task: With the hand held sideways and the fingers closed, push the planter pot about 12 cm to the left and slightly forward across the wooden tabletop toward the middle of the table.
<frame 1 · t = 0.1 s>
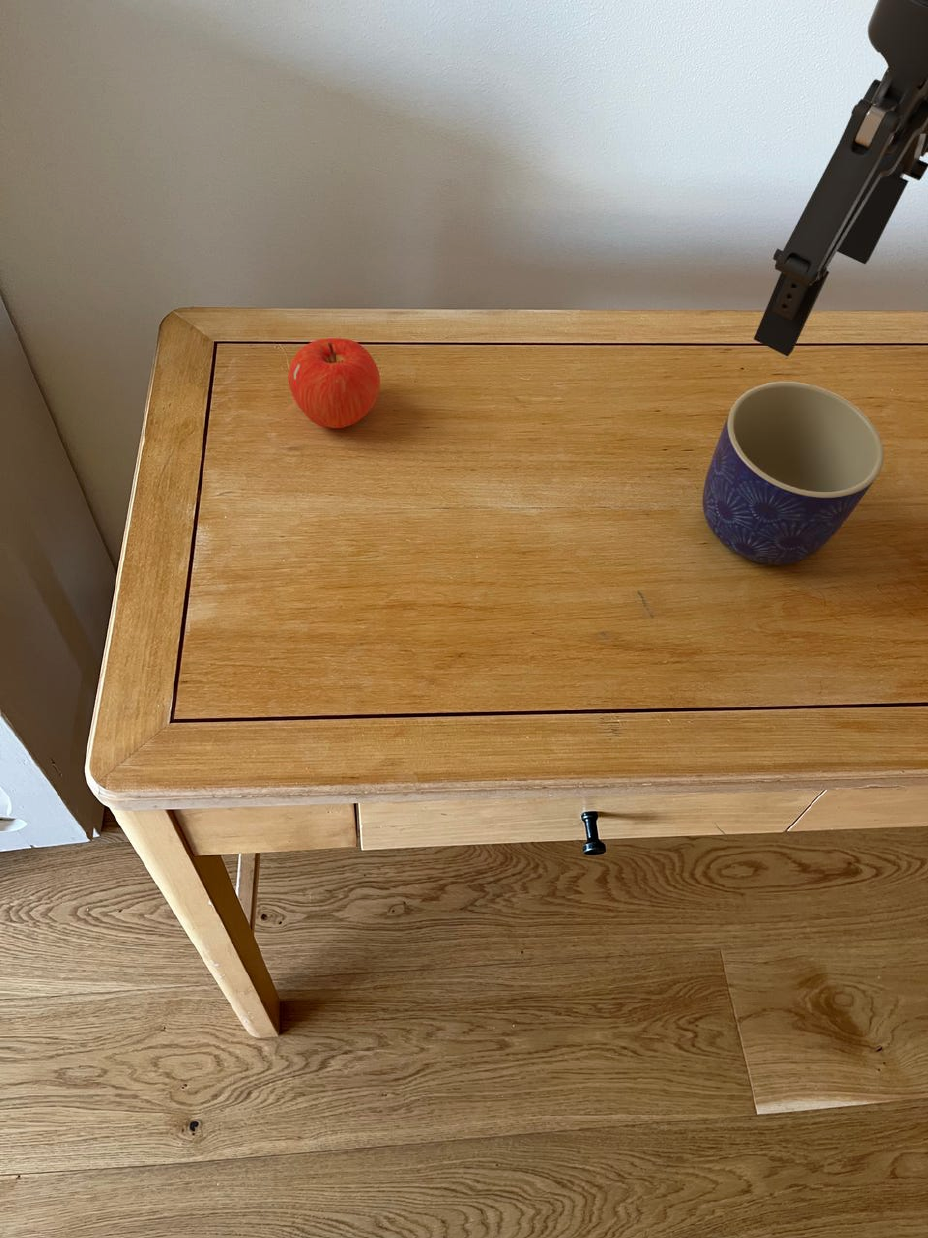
hand: (813, 298, 68), 20 cm above the table, tool pointing down, fingers open, 13 cm apart
planter: (758, 524, 82), on the table
apple: (336, 413, 86), on the table
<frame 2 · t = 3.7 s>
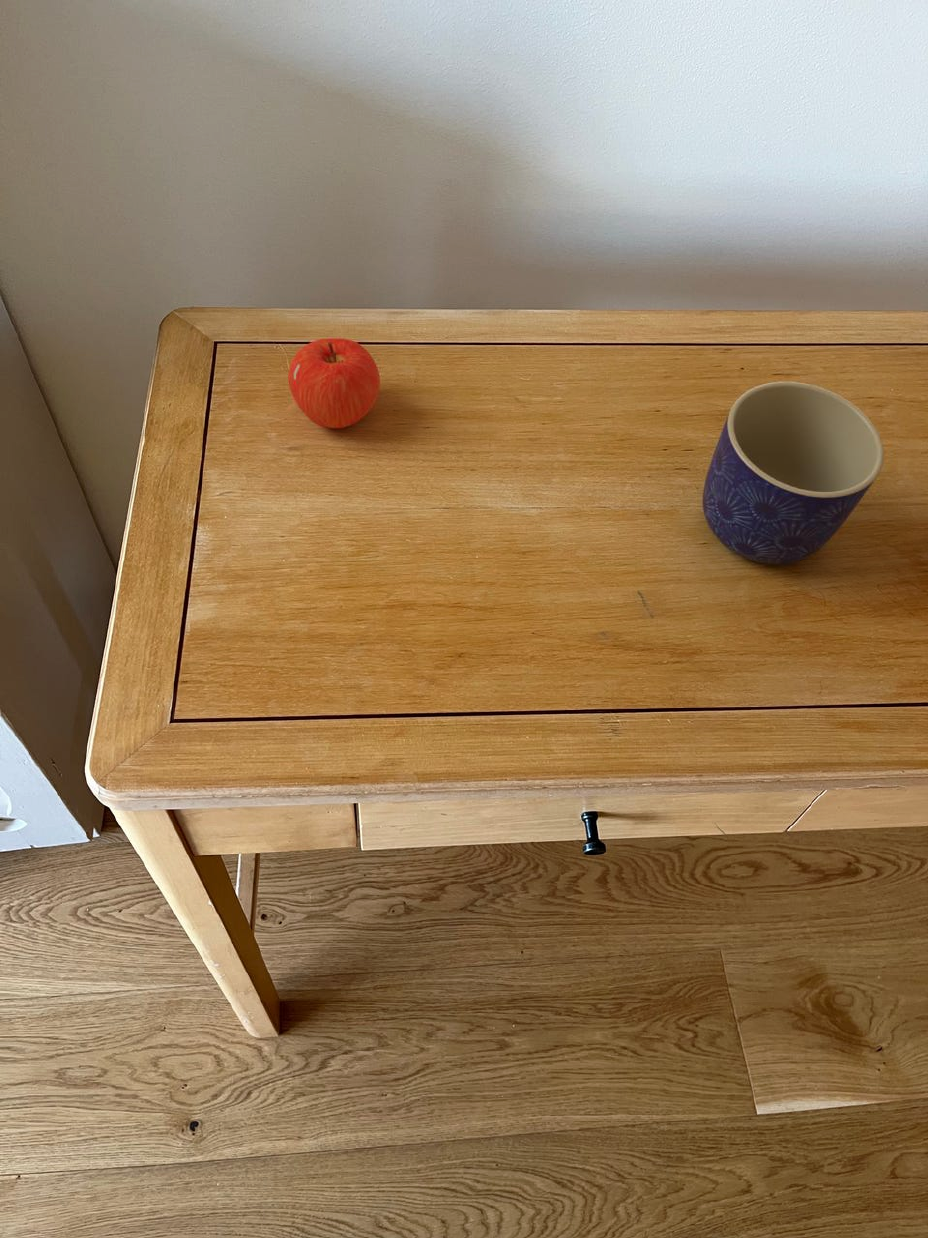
nothing on the table moved.
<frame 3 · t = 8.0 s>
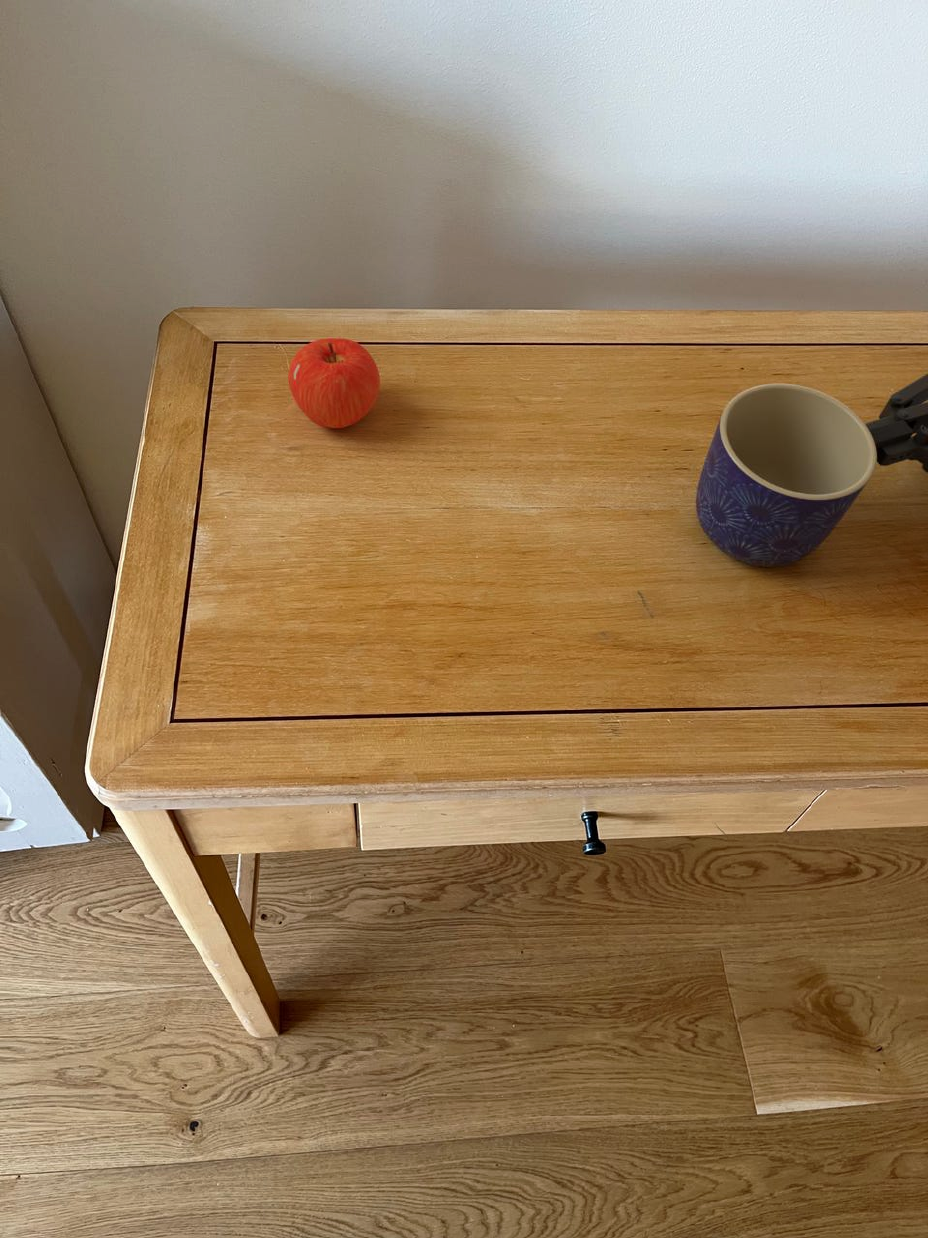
hand: (840, 455, 78), 6 cm above the table, tool horizontal, fingers closed
planter: (752, 526, 82), on the table, touching gripper
everything else where it was.
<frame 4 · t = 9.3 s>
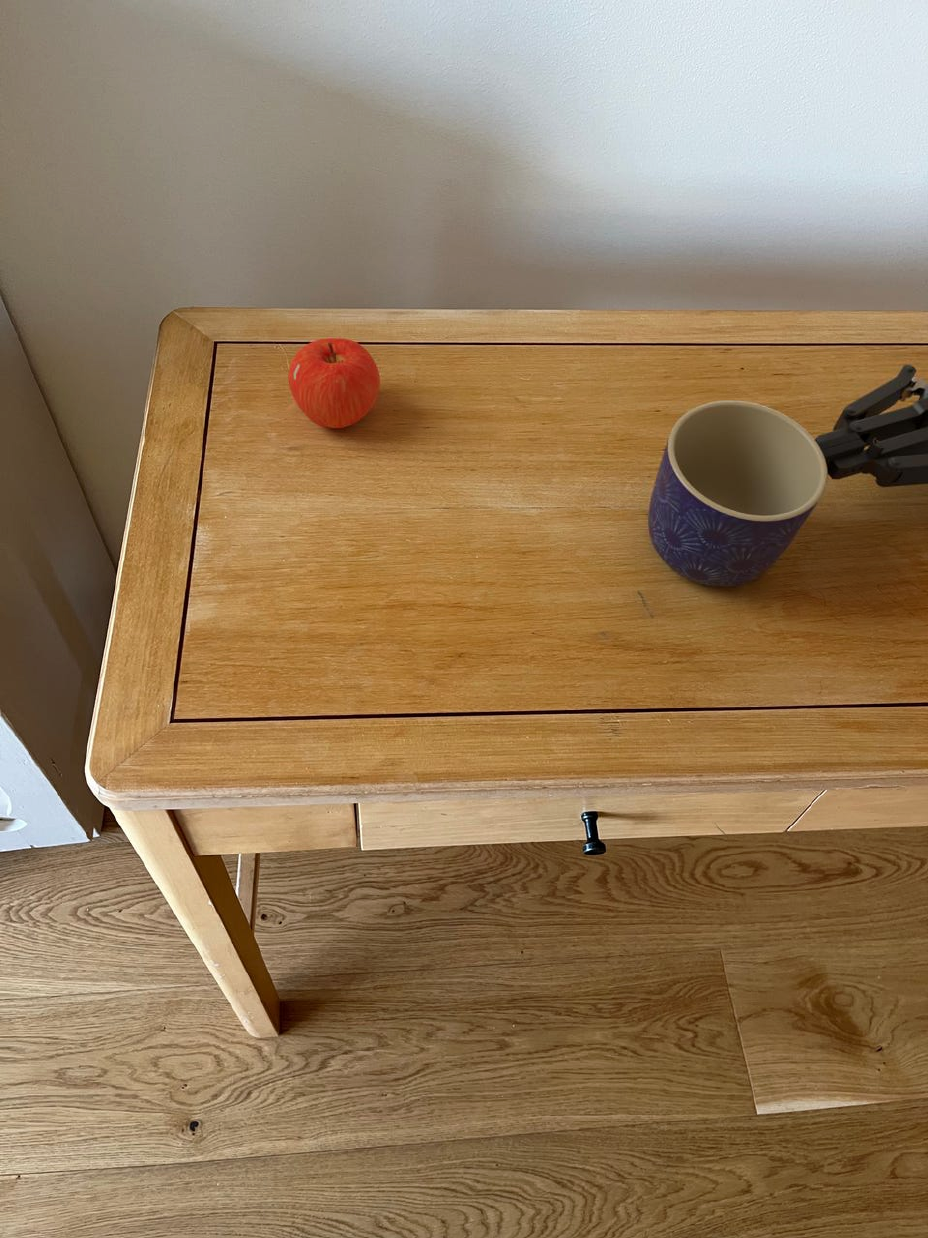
hand: (790, 468, 77), 7 cm above the table, tool horizontal, fingers closed
planter: (706, 544, 81), on the table, touching gripper
everything else where it was.
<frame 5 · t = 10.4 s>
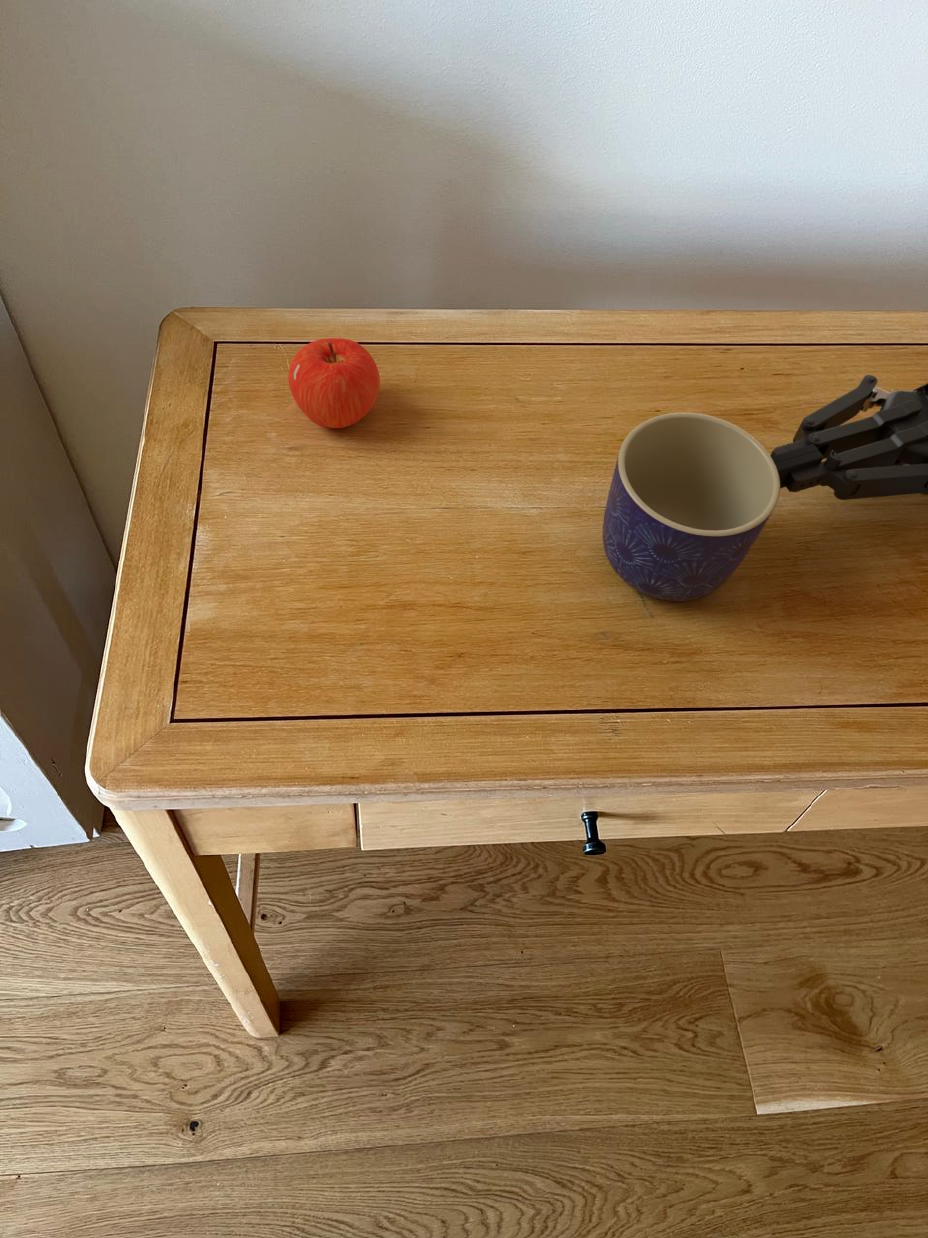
hand: (747, 481, 76), 7 cm above the table, tool horizontal, fingers closed
planter: (662, 557, 79), on the table, touching gripper
everything else where it was.
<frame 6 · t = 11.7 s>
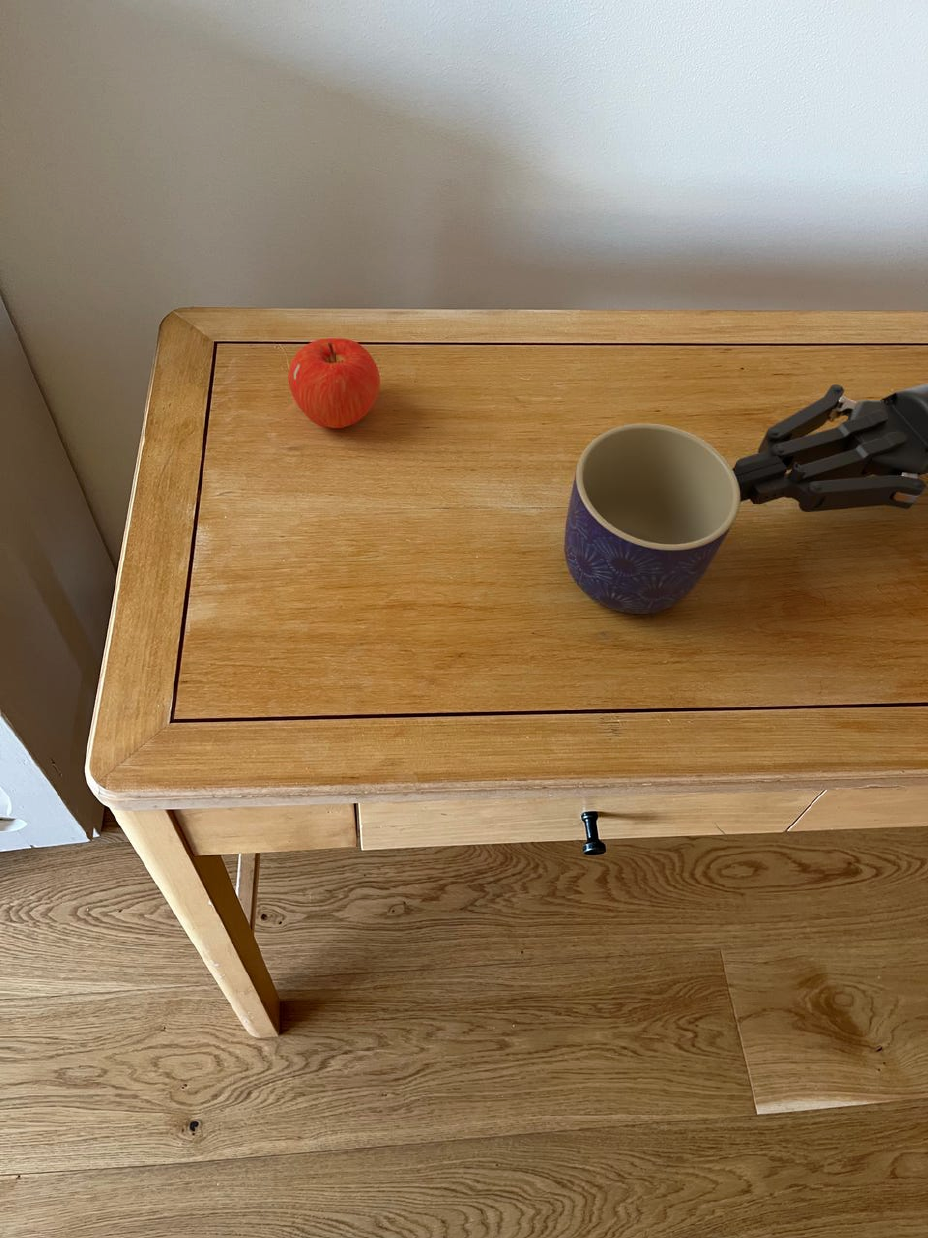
hand: (709, 493, 75), 7 cm above the table, tool horizontal, fingers closed
planter: (626, 569, 78), on the table, touching gripper
everything else where it was.
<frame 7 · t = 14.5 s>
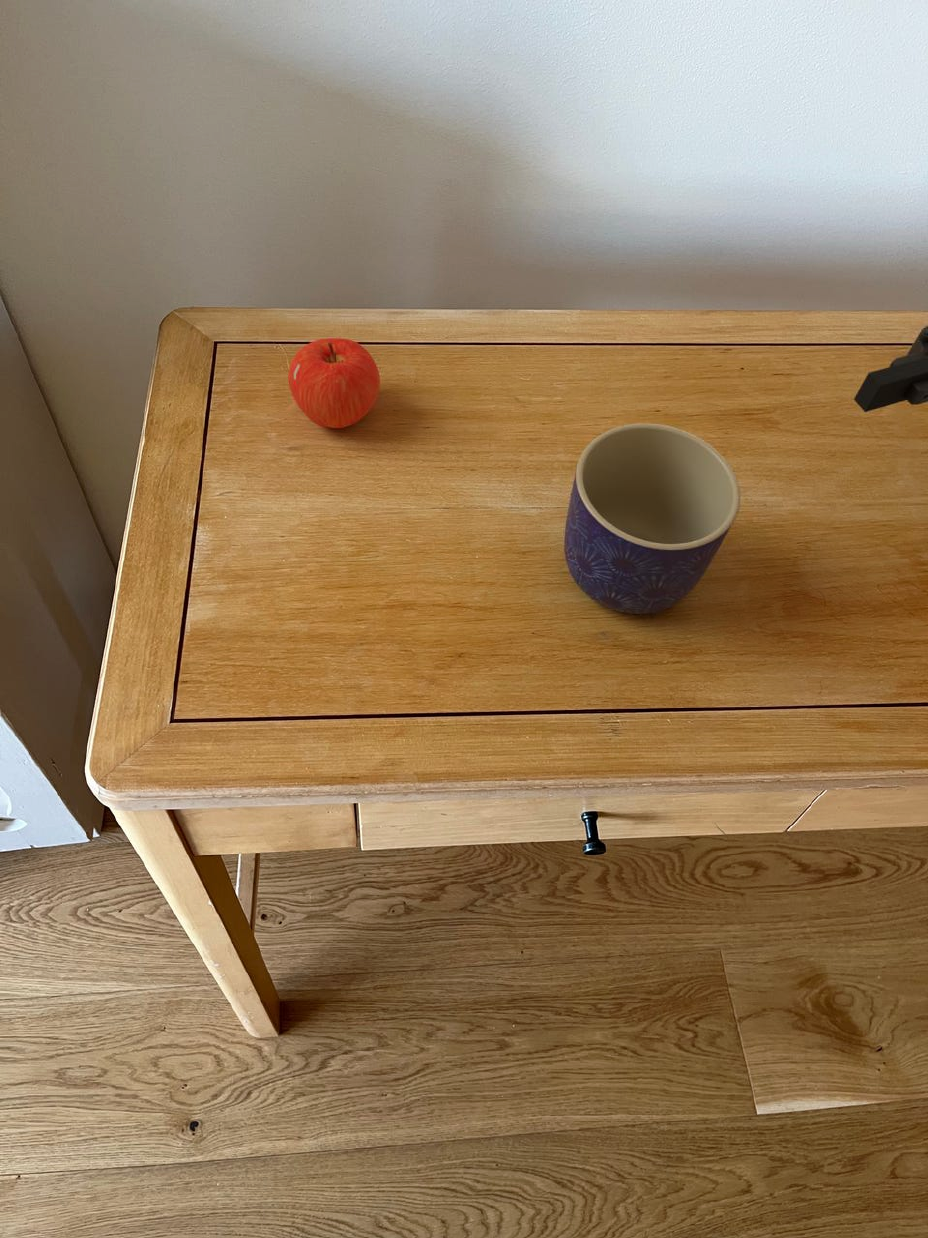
hand: (867, 392, 71), 14 cm above the table, tool horizontal, fingers closed
planter: (626, 569, 78), on the table
everything else where it was.
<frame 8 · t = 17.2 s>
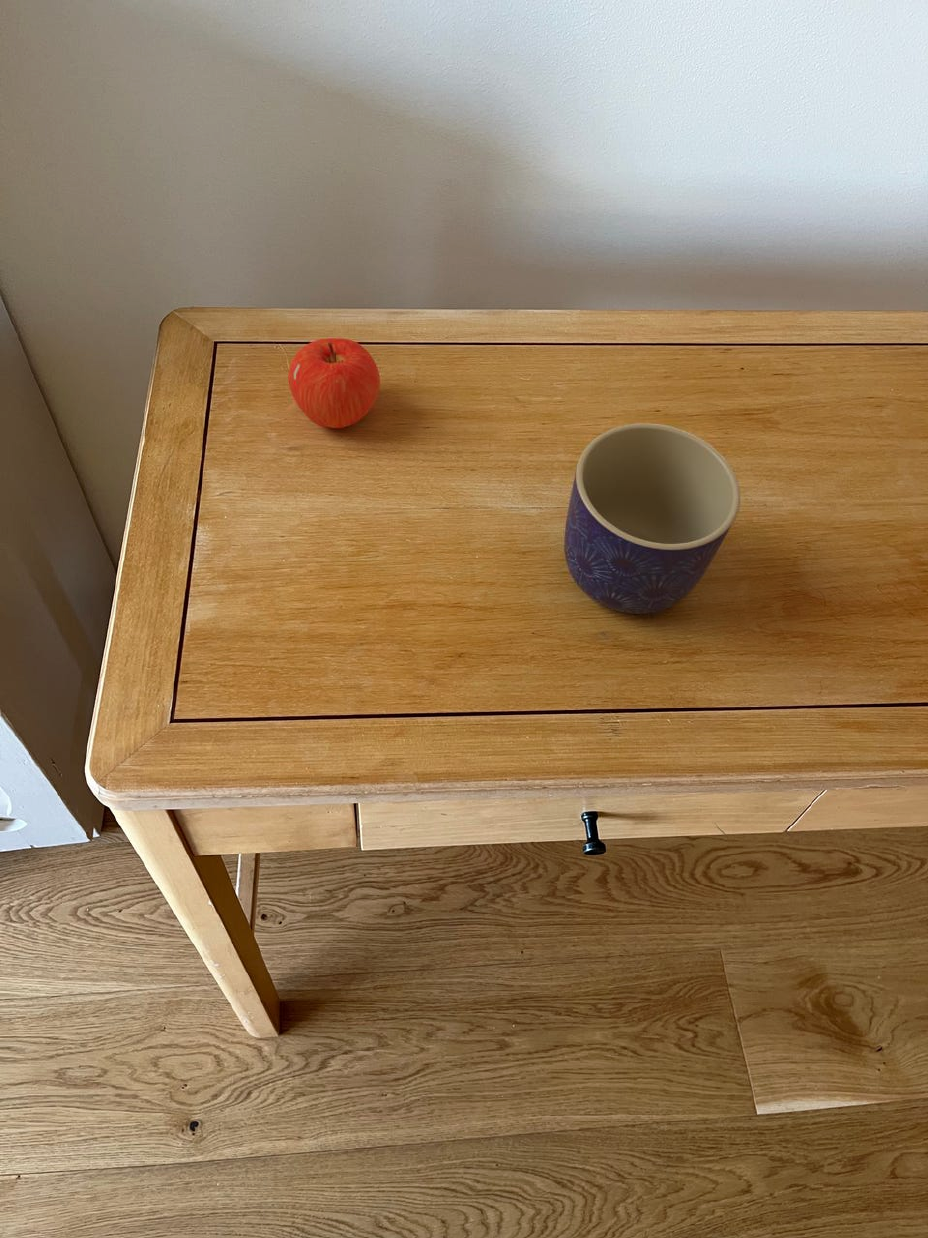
nothing on the table moved.
at the end: planter inside the target area (1.5 cm from its centre), on the table; planter moved 13.6 cm from its start; planter tilted 0° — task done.
